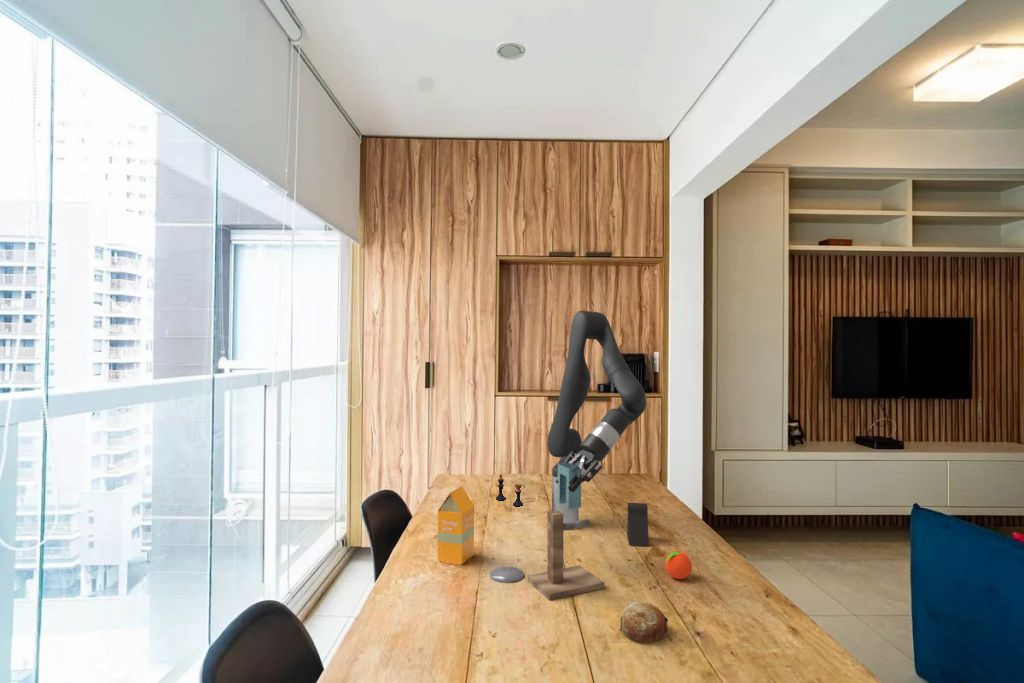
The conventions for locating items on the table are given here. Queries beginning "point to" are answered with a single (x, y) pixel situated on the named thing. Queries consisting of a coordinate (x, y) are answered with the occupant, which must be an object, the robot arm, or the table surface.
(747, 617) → the table surface
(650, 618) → the bread roll
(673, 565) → the clementine
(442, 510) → the orange juice
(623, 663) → the table surface
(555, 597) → the stand
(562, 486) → the c link
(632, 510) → the phone stand
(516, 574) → the coaster
